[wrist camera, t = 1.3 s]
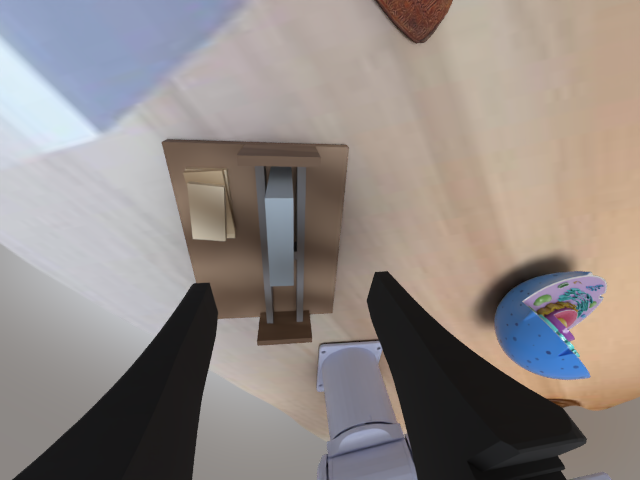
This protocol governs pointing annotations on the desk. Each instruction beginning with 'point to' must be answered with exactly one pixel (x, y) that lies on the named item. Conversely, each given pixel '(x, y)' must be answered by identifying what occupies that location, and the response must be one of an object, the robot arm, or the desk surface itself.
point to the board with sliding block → (251, 231)
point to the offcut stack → (210, 203)
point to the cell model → (547, 322)
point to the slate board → (280, 226)
